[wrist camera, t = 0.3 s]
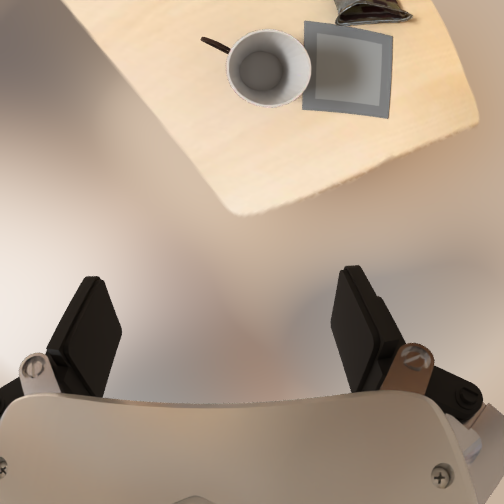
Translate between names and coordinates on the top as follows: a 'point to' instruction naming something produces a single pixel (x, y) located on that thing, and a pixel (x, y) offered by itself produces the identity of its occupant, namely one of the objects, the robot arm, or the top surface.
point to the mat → (347, 70)
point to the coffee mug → (266, 67)
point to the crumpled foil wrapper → (369, 12)
